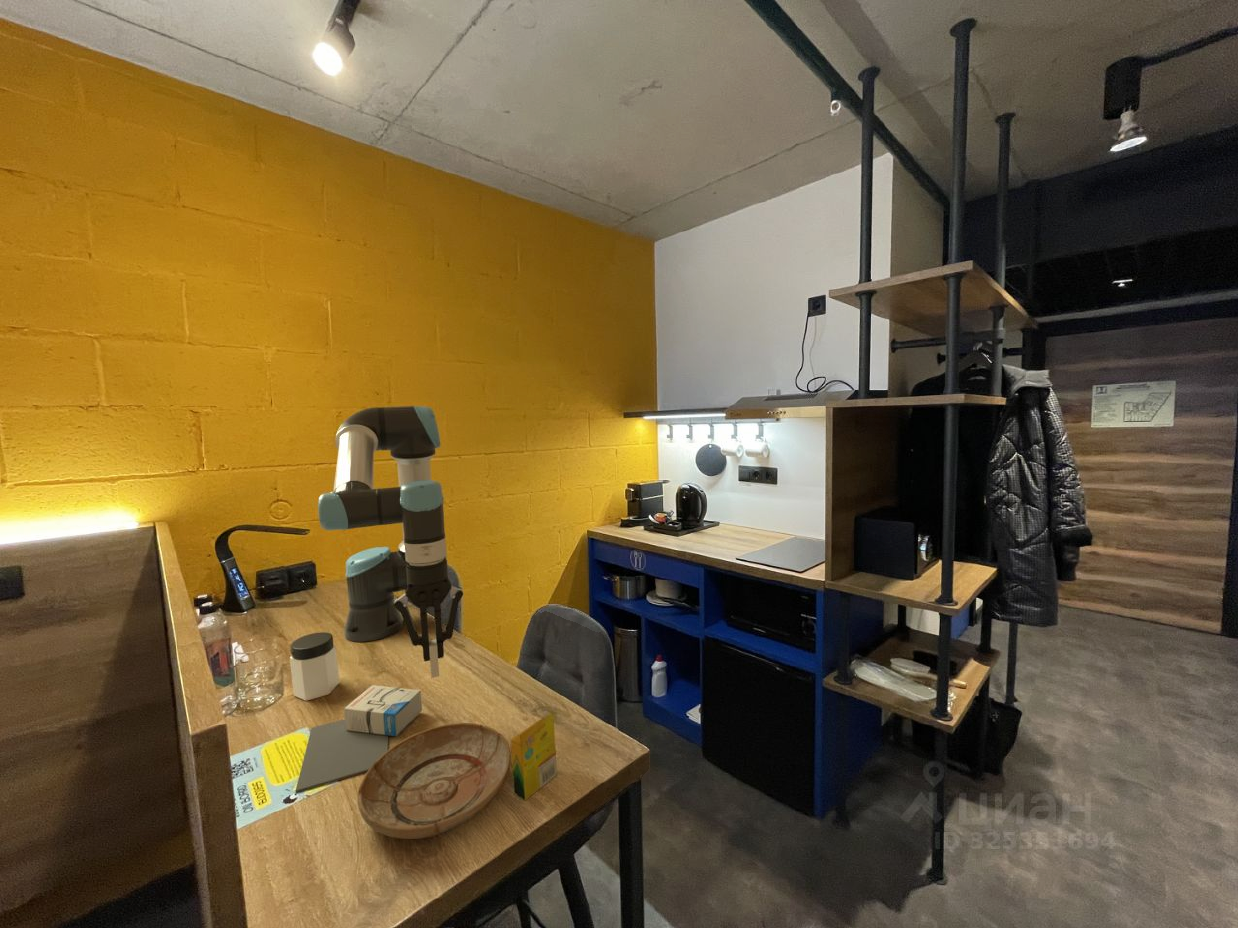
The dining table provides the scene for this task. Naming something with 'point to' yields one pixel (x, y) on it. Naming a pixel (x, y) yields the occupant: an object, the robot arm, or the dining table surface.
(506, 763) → the ceramic bowl
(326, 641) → the jar
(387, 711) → the ink box
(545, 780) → the crayon box
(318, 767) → the mat
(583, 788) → the dining table surface
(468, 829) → the dining table surface
